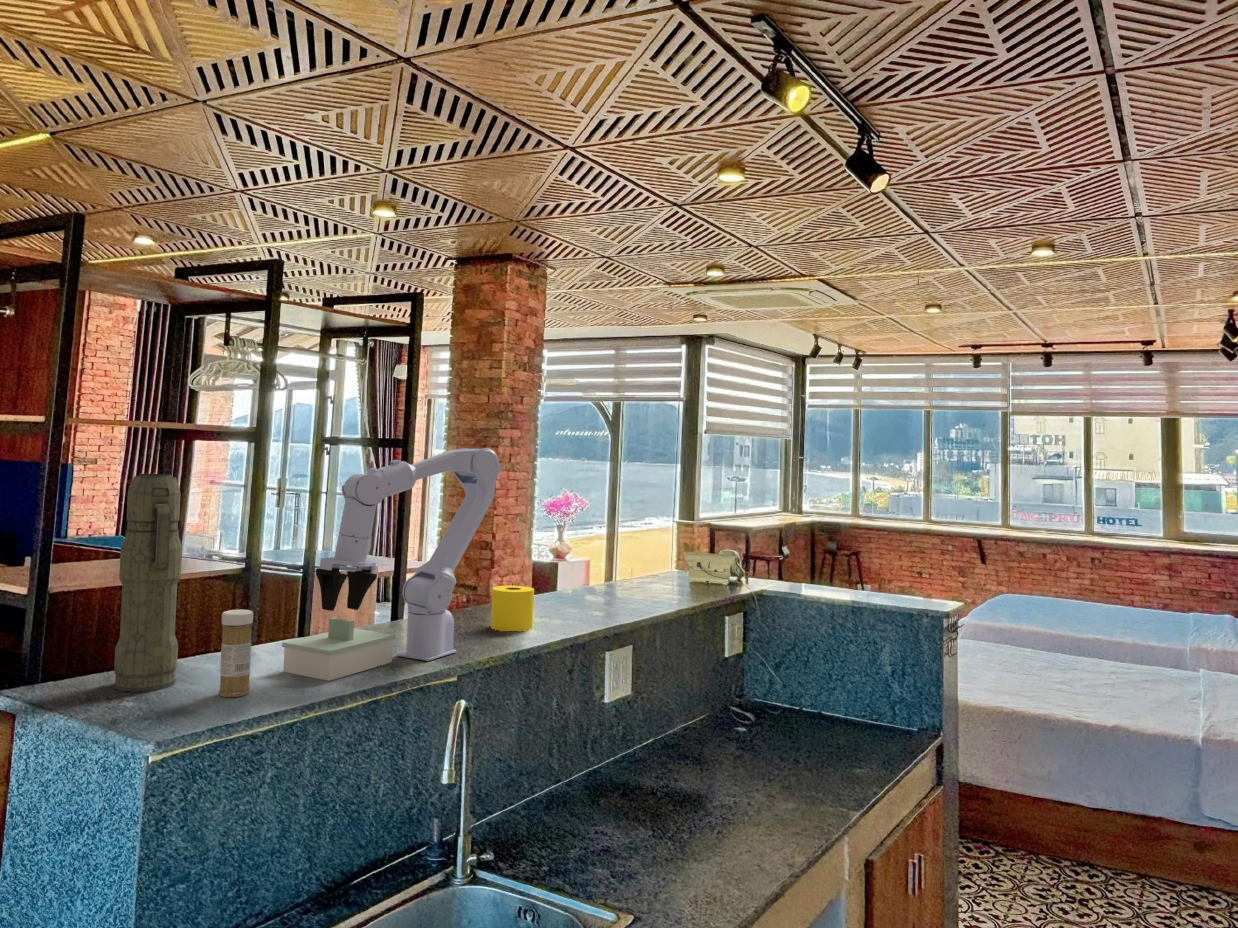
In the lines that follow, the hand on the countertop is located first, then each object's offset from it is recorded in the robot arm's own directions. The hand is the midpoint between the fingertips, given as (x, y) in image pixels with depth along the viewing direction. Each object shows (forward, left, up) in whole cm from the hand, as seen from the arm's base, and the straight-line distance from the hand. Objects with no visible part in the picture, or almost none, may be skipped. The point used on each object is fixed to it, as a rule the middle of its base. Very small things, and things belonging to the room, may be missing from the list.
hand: (340, 609), depth 146 cm
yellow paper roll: (-51, +6, -11) cm, 52 cm away
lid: (-1, 0, -7) cm, 7 cm away
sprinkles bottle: (+21, -1, -11) cm, 24 cm away
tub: (-1, 0, -11) cm, 11 cm away
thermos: (+25, -17, -11) cm, 33 cm away
